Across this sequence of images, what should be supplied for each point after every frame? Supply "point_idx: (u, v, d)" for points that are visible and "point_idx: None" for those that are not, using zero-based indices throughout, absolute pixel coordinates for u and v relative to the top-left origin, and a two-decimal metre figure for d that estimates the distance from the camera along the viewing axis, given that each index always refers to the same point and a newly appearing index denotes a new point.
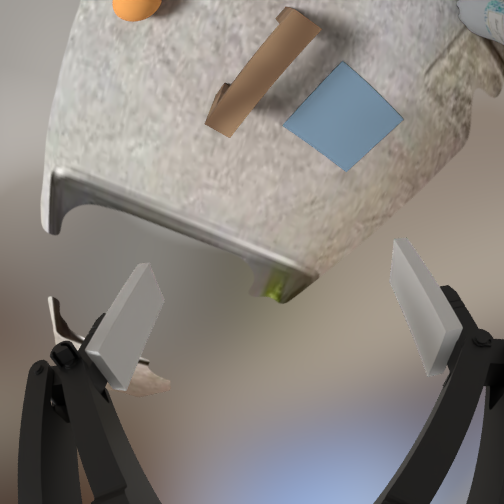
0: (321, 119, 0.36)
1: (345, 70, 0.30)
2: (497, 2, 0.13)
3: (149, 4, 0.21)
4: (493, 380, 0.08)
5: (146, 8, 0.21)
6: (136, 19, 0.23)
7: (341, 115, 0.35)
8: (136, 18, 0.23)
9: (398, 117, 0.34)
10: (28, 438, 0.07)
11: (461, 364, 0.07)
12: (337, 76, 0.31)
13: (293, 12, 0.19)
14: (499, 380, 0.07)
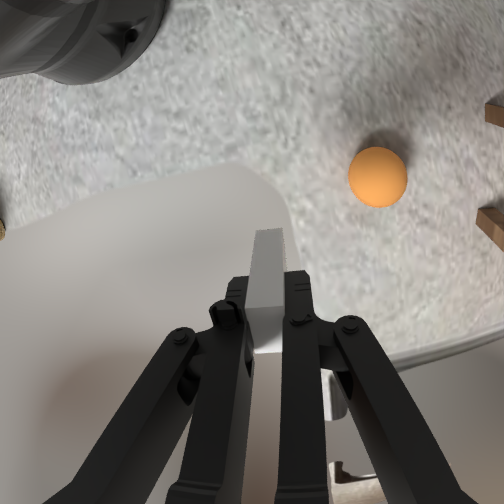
0: None
1: None
2: None
3: (406, 178, 0.23)
4: (325, 363, 0.10)
5: (405, 184, 0.23)
6: None
7: None
8: (397, 200, 0.24)
9: None
10: (129, 414, 0.08)
11: (287, 348, 0.10)
12: None
13: None
14: (332, 363, 0.10)
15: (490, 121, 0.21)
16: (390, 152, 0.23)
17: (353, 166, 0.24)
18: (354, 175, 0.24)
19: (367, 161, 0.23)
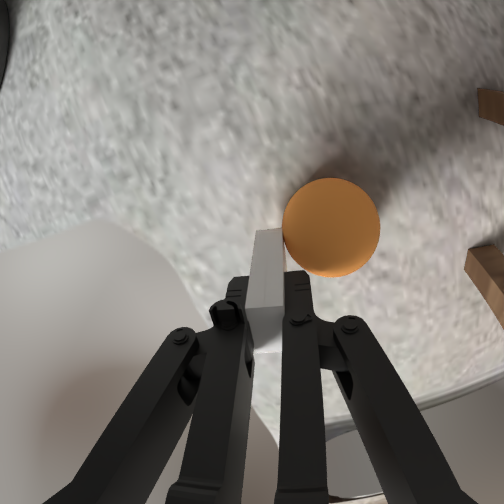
0: None
1: None
2: None
3: None
4: (325, 363, 0.10)
5: None
6: None
7: None
8: None
9: None
10: (129, 414, 0.08)
11: (287, 348, 0.10)
12: None
13: None
14: (332, 363, 0.10)
15: (487, 117, 0.13)
16: (350, 183, 0.15)
17: (308, 228, 0.14)
18: (316, 245, 0.14)
19: (336, 213, 0.14)
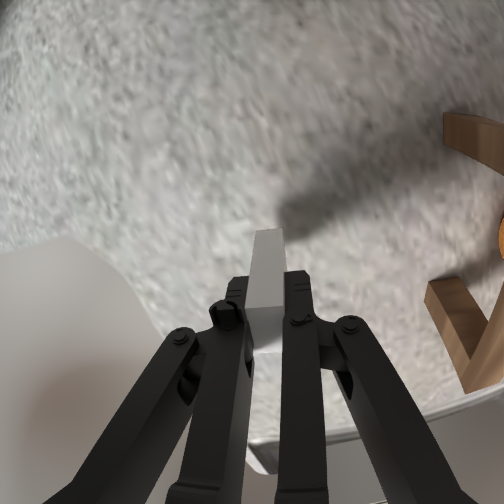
0: None
1: None
2: None
3: None
4: (325, 362, 0.10)
5: None
6: None
7: None
8: None
9: None
10: (129, 414, 0.08)
11: (287, 348, 0.10)
12: None
13: None
14: (332, 363, 0.10)
15: (451, 144, 0.14)
16: None
17: None
18: None
19: None
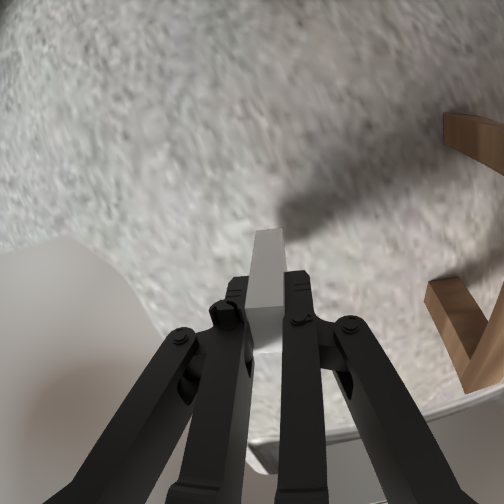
0: None
1: None
2: None
3: None
4: (325, 362, 0.10)
5: None
6: None
7: None
8: None
9: None
10: (129, 414, 0.08)
11: (287, 348, 0.10)
12: None
13: None
14: (332, 363, 0.10)
15: (451, 144, 0.14)
16: None
17: None
18: None
19: None
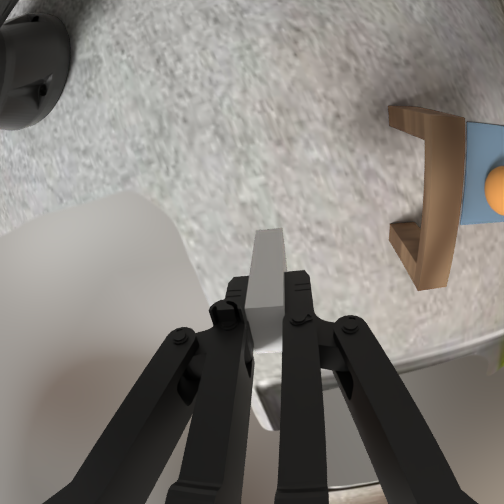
0: None
1: (474, 128, 0.23)
2: None
3: (491, 187, 0.23)
4: (325, 362, 0.10)
5: (489, 192, 0.24)
6: (493, 208, 0.24)
7: None
8: (491, 206, 0.24)
9: None
10: (129, 414, 0.08)
11: (287, 348, 0.10)
12: (473, 140, 0.24)
13: (432, 119, 0.16)
14: (332, 363, 0.10)
15: (392, 125, 0.24)
16: (501, 169, 0.22)
17: None
18: None
19: None
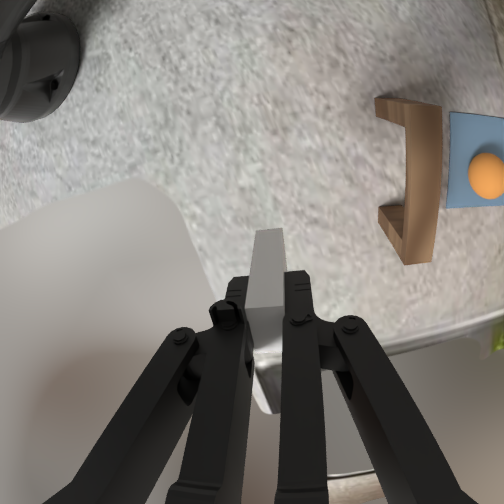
0: None
1: (457, 118, 0.25)
2: None
3: (473, 172, 0.26)
4: (325, 362, 0.10)
5: (472, 177, 0.26)
6: (476, 191, 0.27)
7: None
8: (475, 190, 0.27)
9: None
10: (129, 414, 0.08)
11: (287, 348, 0.10)
12: (456, 129, 0.26)
13: (411, 108, 0.19)
14: (332, 363, 0.10)
15: (378, 115, 0.26)
16: (483, 155, 0.25)
17: None
18: None
19: None
